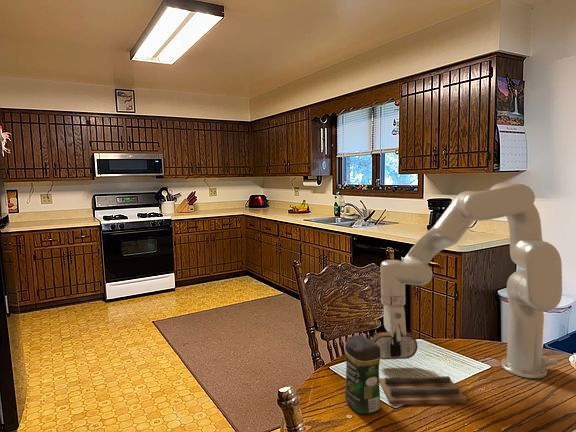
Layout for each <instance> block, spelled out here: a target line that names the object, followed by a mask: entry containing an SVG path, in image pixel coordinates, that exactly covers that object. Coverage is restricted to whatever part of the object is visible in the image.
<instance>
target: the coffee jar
mask: <svg viewBox="0 0 576 432" xmlns="http://www.w3.org/2000/svg"><path fill="white" fill-rule="evenodd" d="M344 351H345V352H344V354H345V365H346V367H345V369H346V370H345V373H346V374H345V391H344V392H345V395H344V397H345V402H346V404H348V406H349V407H350V409H352V410H353V411H355V412H356V413H358V414H360V415H362V414H363V415H372V414H374V413H376V412H377V411H379V410H380V409H381V392H380V391H381V390H380V389H381V388H380V383H379V378H380V361H381V359H380V357H381V355H380V347H379V346H378V345H377V344H376V343H374V342H373V341H371V339H370V338H367V337H365V336H363V335H362V334H358V335H353V336H349V337H348V338H347V339H346V340H345V348H344Z"/></svg>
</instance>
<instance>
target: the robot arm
mask: <svg viewBox="0 0 576 432" xmlns="http://www.w3.org/2000/svg"><path fill="white" fill-rule="evenodd" d="M535 196H536V195H535V192H534V190H533V189H532V188H531V187H530V186H529V185H526V184H523V183H517V182H516V183H515V182H513V183H512V182H500V183H496V184H494V185H492V186H491V188H490V189H489V190H481V191H473V190H466V191H462V192H460V193H458V194H457V195H456V196H455V197H454V198H453V200H452V202H451V203H450V204H449V205H448V207H446V209H445V210H444V212H443V213H442V214H441V216H440V217H439V218H438V220H437V221H436V222H435V224H434V225H433V226H432V227H431V228H430V229H429V230H428V231H426V233H425V234H423V236H421V237H420V238H419V239H418V240H417V241H416V242H415V244H414V245H413V246H412V247H411V248H410V250H409V251H408V253H407V254H406V255H405V257H404V258H403V260H399V259H386V260H383V261H381V263H380V271H379V272H380V300H381V301H380V304H381V305H383V326H384V329H385V330H386V332H388V333H389V335H390V336H391V344H390V355H391V357H397V356H401V334H402V335H403V336H404V337H405V336H406V332H407V327H406V326H407V325H406V323H407V322H406V313H405V305H406V285H412V286H418V287H419V286H424V285H426V284H429V283H430V281H431V280H432V278H433V271H432V268H431V267H430V265H429V263H430V261H432V259H433V258H434V257H435V256H436V255H437V254H438V253H440V252H441V251H443V250H445V249H447V248H450V247H452V246H454V245H456V244H457V243H458V242H459V241H460V239H462V237H463V235H465V233H466V232H467V230H468V229H470V228H469V227H471V225H472V224H473V223H474V222H478V221H479V222H481V221H482V222H483V221H489V220H494V219H495V220H496V219H499V218H504V217H506V219H507V222H508V229H509V255H510V256H509V257H510V259H511V261H512V262H513V264H516V266H519V267H521V268H523V269H521V270H520V269H519V270H517V271H515V272H513V273H512V274H511V275H509V277H508V278H507V282H506V293H507V295H506V296H507V301H508V302H507V303H508V315H507V316H508V319H507V321H508V322H507V324H508V325H507V344H506V345H507V347H506V357H504V358H502V359H501V360H500V362H501V363H500V364H501V365H500V366H501V367H502V368H503V369H504V370H505V372H508V373H509V374H513V375H515V376H518V377H521V378H527V379H542V378H544V377H546V376H547V375H548V369H547V367H548V365H550V366H557V365H558V360H557V358H554V357H553V358H549V357H548V356H547V355H543V345H544V343H543V340H544V322H545V317H544V312H549V311H552V310H554V309H556V308H557V307H558V306H559V304H560V303H561V300H562V295H563V265H562V258H561V254H560V252H559V250H558V248H556V246H554V245H553V244H552V243H549V242H547V241H544V240H543V233H542V232H543V231H542V223H541V222H542V221H541V216H540V212H539V211H538V208H537V206H536V205H535V204H534V203H535V199H536V197H535ZM400 333H401V334H400ZM393 334H396V335H393ZM394 338H396V339H394Z"/></svg>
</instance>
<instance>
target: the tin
mask: <svg viewBox="0 0 576 432" xmlns="http://www.w3.org/2000/svg"><path fill="white" fill-rule="evenodd" d="M400 334H401V333H400ZM393 335H396V334H393ZM394 339H396V338H394ZM370 340H371V341H373V342H374V343H376V344H377V345H378V346H379V347H380V355H381V357H380V360H408V359H410V358H412V357H413V356H415V355H416V352H417V351H418V341H417V339H416V338H415V337H414V335H413V334H411V333H410V332H407V331H406V336H405V337H404V336H403V335H402V334H401V356H397V357H391V355H390V344H391V336H390V335H389V333H388V332H387V331H385V332H383V331H382V332H378V333H376V334H374V335H373V336H372V338H371V339H370Z"/></svg>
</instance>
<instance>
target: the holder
mask: <svg viewBox="0 0 576 432" xmlns="http://www.w3.org/2000/svg"><path fill="white" fill-rule="evenodd" d="M379 386H380V387H381V389H382V391H383V393H384V395H386V396H385V398H386V397H387V398H386V400H387V399H388V400H387V402H388V401H389V402H388V404H389V405H390V406H392V405H391V404H406V405H435V404H436V405H438V404H439V405H441V404H442V405H443V404H467V403H468V402H467V401H468V399H467V397H466V396H465V395H464V393H463V392H462V391H461V390H460V387H458V386H457V385H456V384H455V383H454V382H453V381H452V379H451V377H450V376H449V375H447V376H446V375H445V376H407V377H406V376H402V377H399V376H397V377H384V378H383V377H382V378H380V377H379Z"/></svg>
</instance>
